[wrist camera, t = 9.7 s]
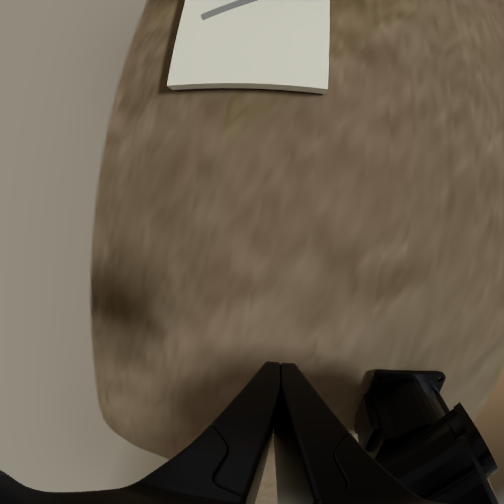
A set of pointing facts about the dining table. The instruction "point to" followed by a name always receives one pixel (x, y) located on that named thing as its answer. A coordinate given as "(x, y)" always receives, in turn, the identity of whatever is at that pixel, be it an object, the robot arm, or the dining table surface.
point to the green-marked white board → (252, 45)
